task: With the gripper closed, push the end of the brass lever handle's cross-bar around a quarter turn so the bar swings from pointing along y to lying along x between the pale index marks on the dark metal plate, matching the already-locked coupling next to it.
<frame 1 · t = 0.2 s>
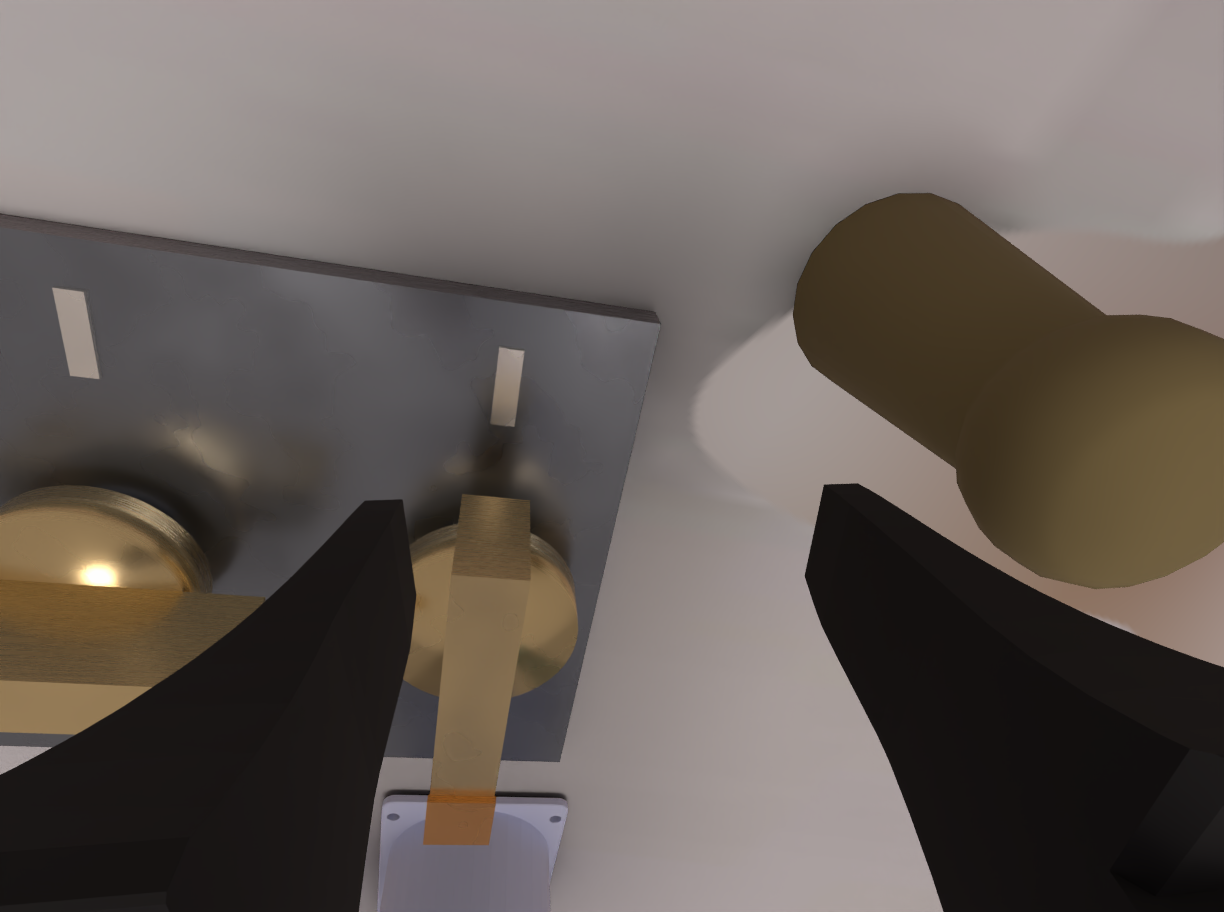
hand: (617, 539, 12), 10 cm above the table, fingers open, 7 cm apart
plate: (269, 539, 23), on the table
brass lever handle: (52, 634, 19), point 5 cm above the table, hinge at 0.0°
cork: (888, 295, 21), on the table
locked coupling: (484, 556, 25), resting on plate
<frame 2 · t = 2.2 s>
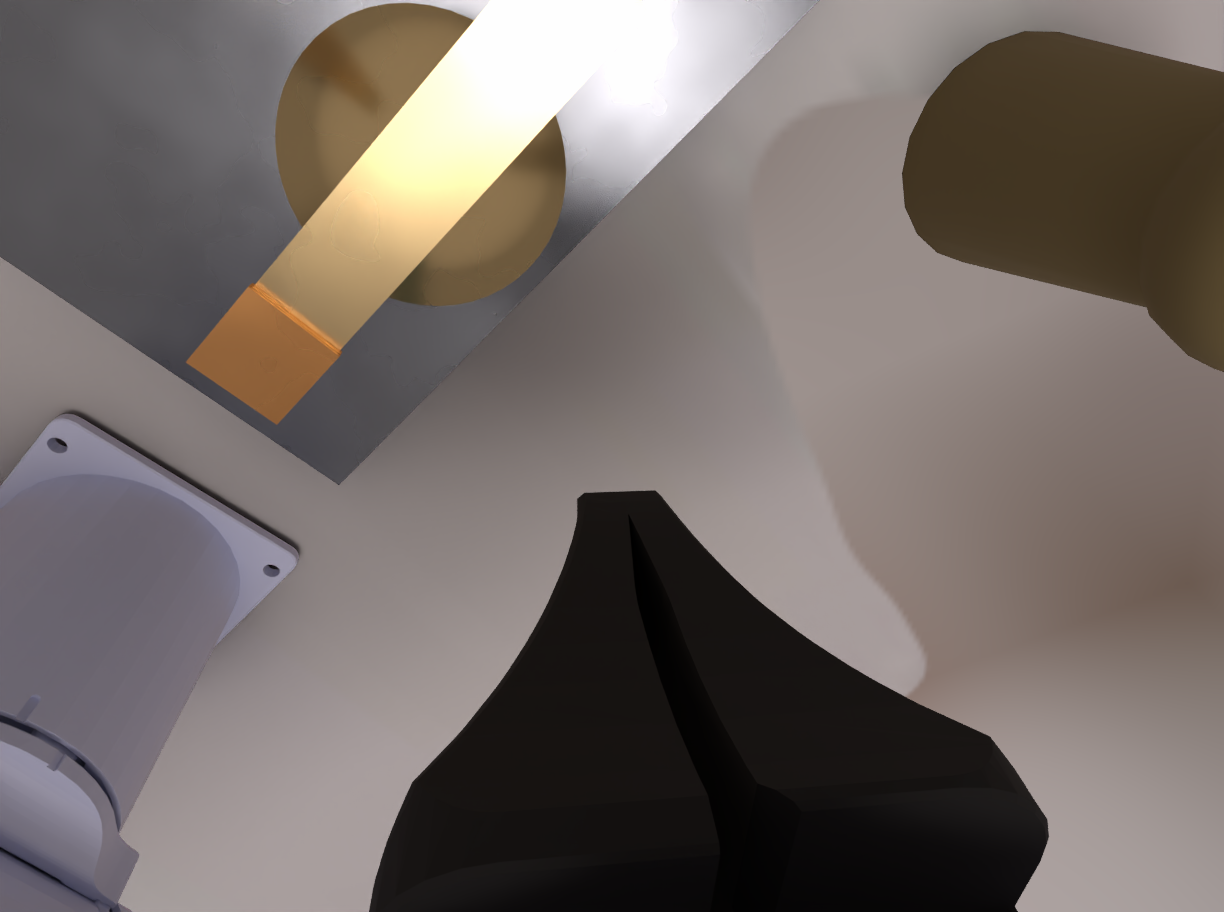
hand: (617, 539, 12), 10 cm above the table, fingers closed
cork: (1003, 154, 20), on the table
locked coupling: (442, 146, 18), resting on plate
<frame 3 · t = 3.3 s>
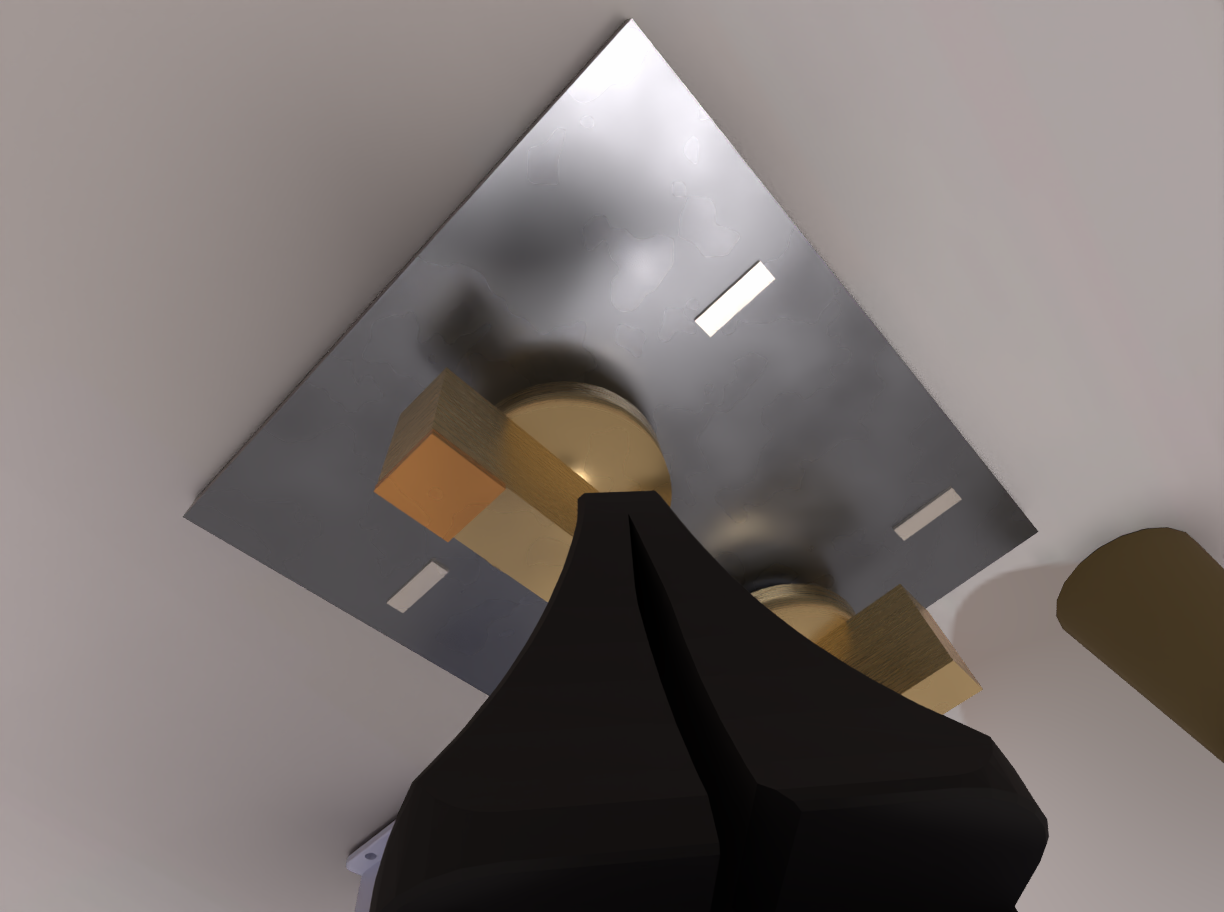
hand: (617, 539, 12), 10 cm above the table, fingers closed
plate: (642, 508, 25), on the table
brass lever handle: (567, 523, 19), point 5 cm above the table, hinge at 0.0°
cork: (1124, 583, 30), on the table
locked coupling: (762, 607, 28), resting on plate
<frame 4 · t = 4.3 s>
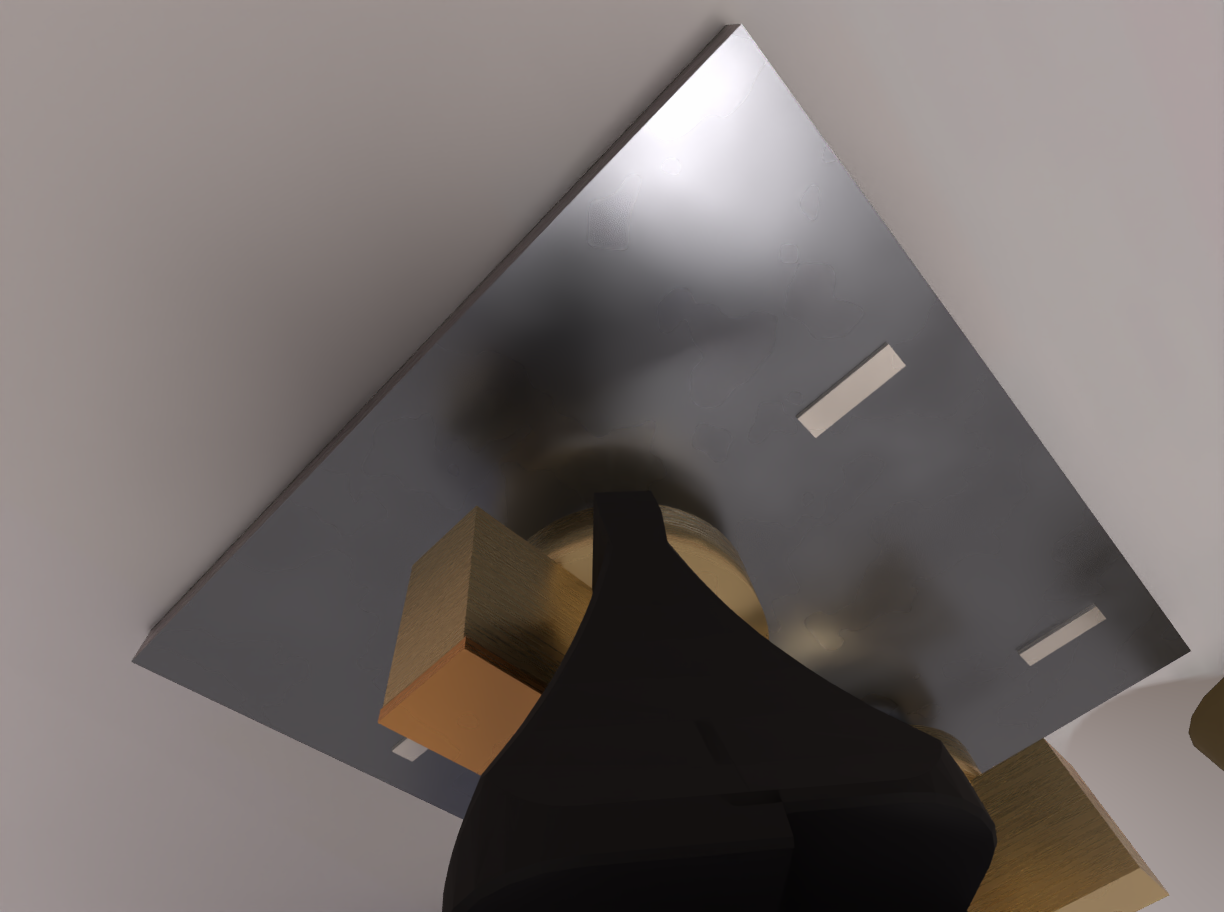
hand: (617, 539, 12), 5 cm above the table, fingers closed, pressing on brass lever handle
plate: (709, 629, 20), on the table
brass lever handle: (636, 698, 14), point 5 cm above the table, hinge at 0.3°, touching gripper
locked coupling: (845, 733, 23), resting on plate
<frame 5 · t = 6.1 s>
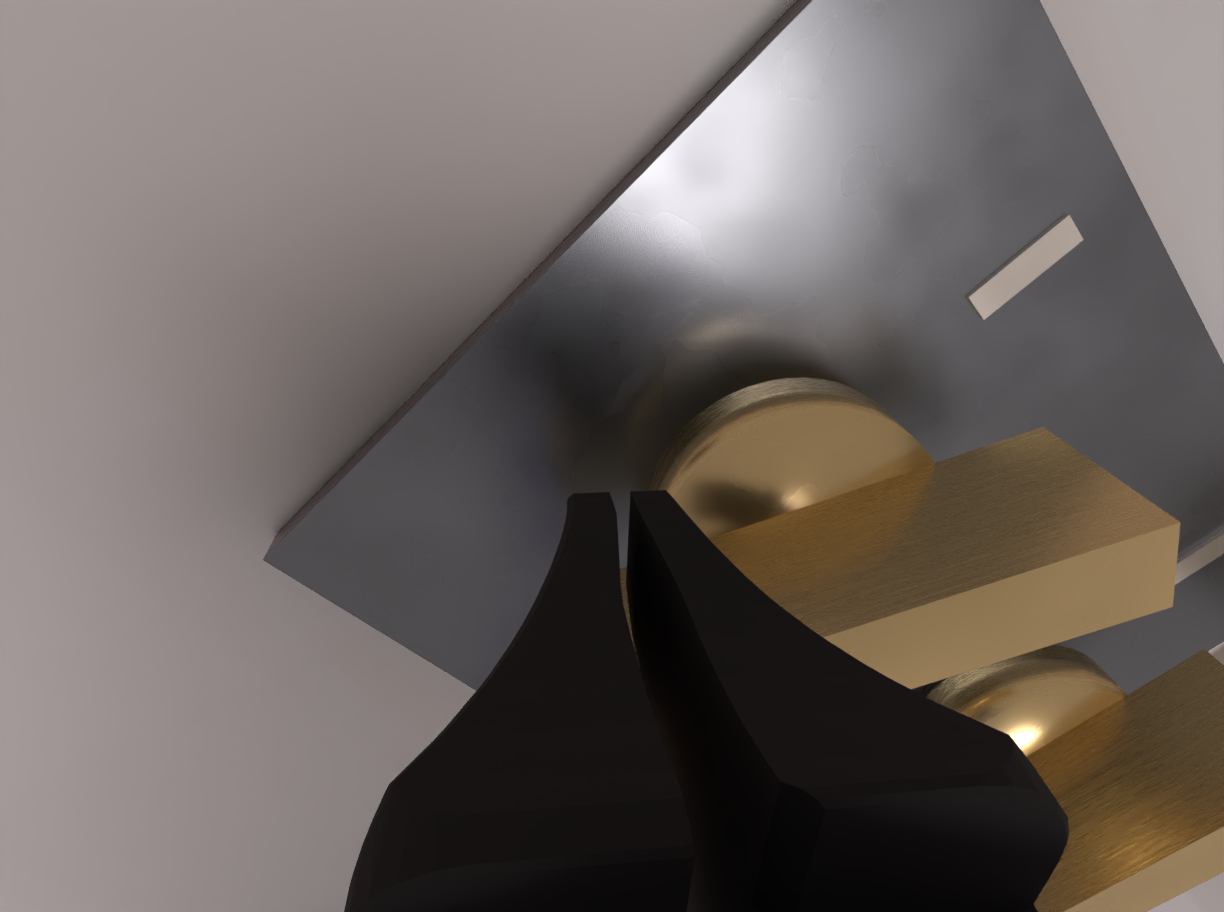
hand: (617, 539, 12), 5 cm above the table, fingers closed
plate: (840, 546, 19), on the table
brass lever handle: (819, 574, 14), point 5 cm above the table, hinge at 65.0°, touching gripper
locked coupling: (964, 669, 22), resting on plate
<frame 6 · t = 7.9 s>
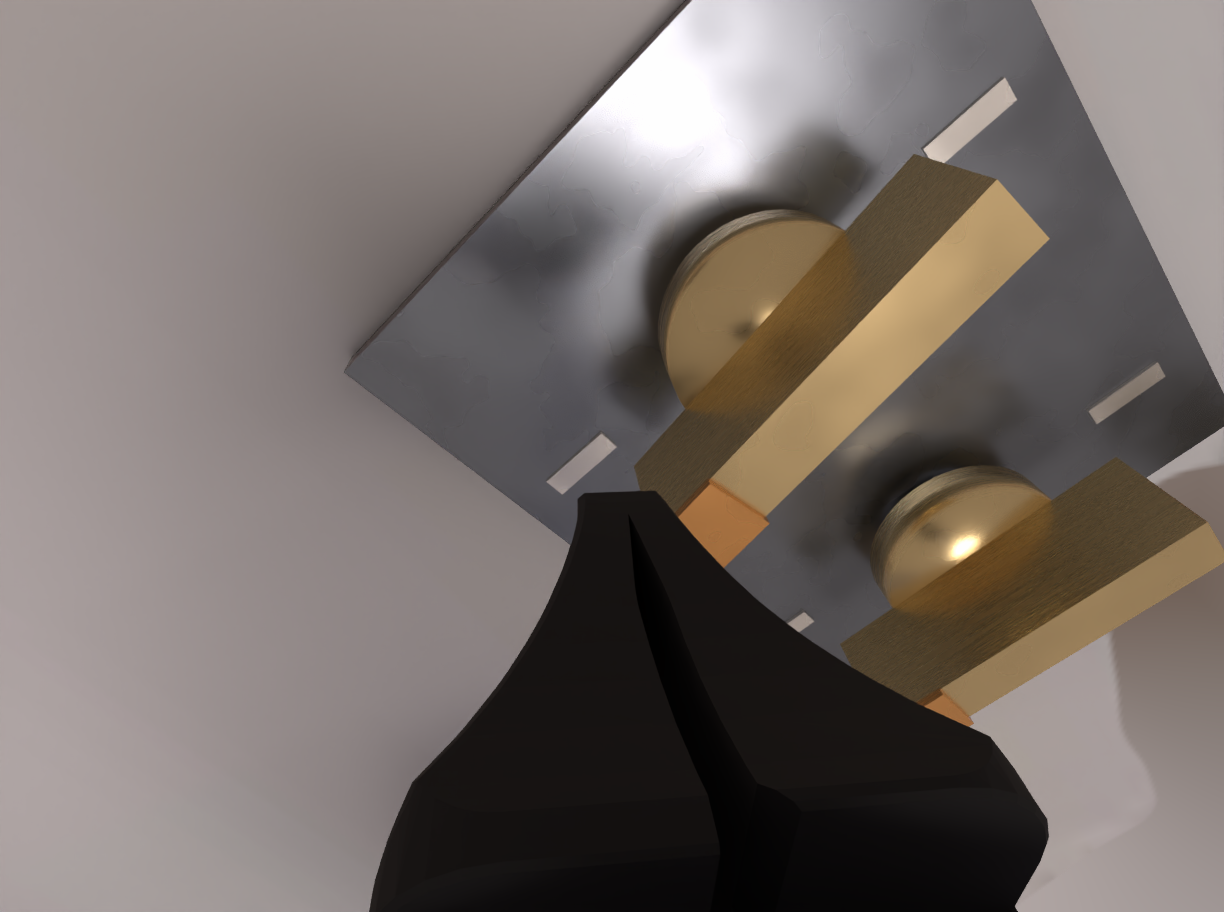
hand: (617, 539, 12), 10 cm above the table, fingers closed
plate: (820, 384, 23), on the table
brass lever handle: (797, 359, 17), point 5 cm above the table, hinge at 98.3°
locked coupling: (926, 505, 26), resting on plate
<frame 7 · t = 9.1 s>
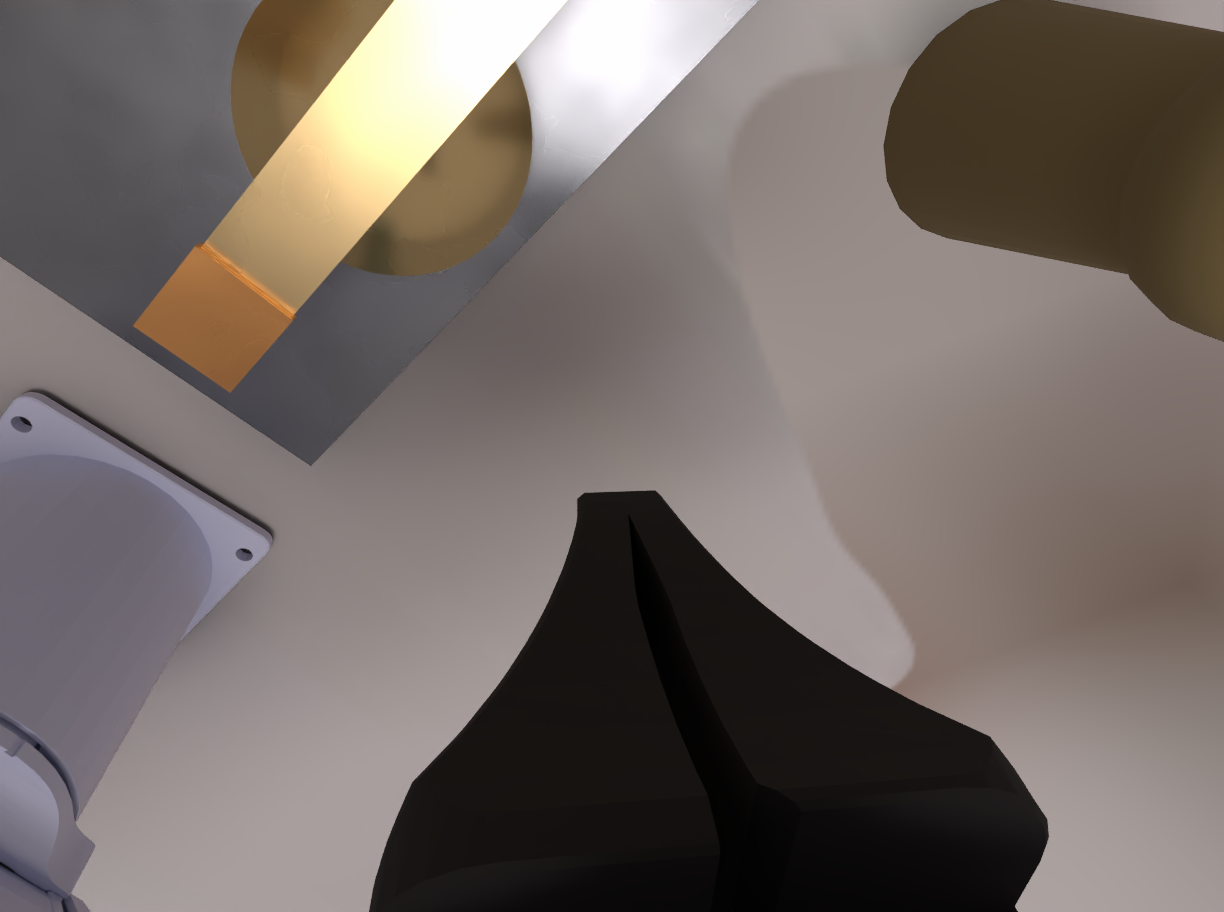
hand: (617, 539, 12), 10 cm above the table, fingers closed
cork: (987, 126, 20), on the table
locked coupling: (411, 115, 18), resting on plate
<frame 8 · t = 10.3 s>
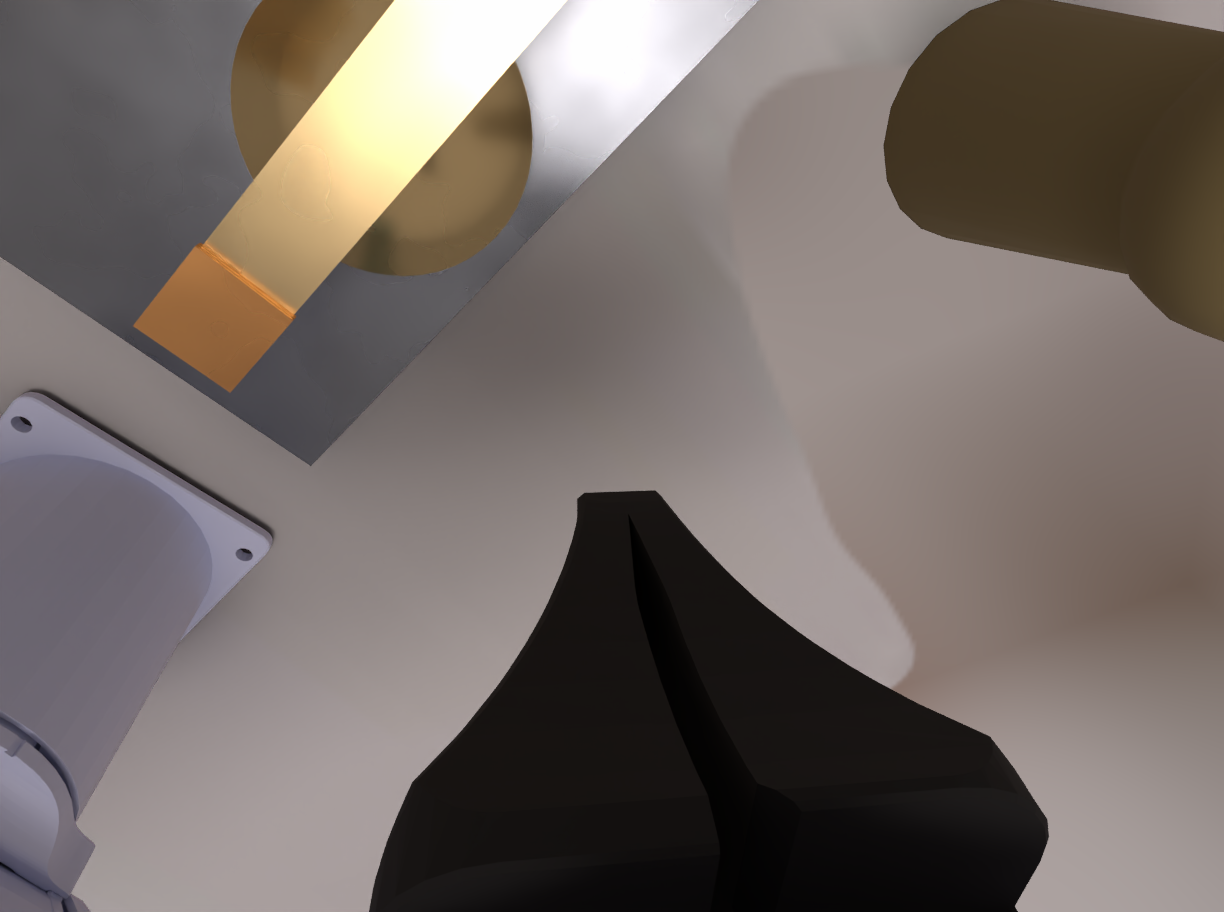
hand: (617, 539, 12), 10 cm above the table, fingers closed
cork: (987, 126, 20), on the table
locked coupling: (411, 115, 18), resting on plate
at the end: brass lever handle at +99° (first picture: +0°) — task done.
